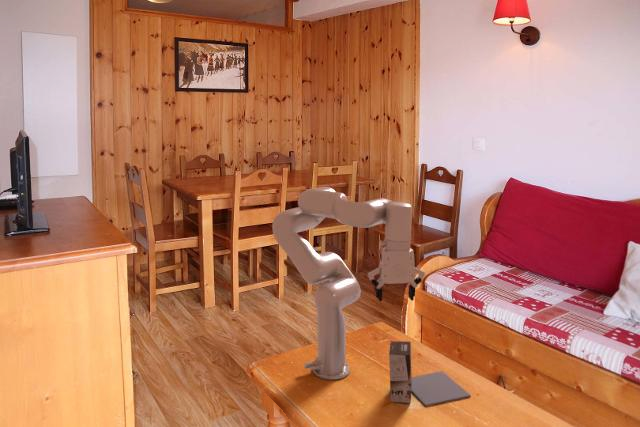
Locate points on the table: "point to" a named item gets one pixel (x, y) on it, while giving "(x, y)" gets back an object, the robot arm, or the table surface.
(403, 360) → the coffee box
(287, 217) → the robot arm
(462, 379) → the table surface
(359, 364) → the table surface
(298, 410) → the table surface
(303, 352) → the table surface
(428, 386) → the mat
